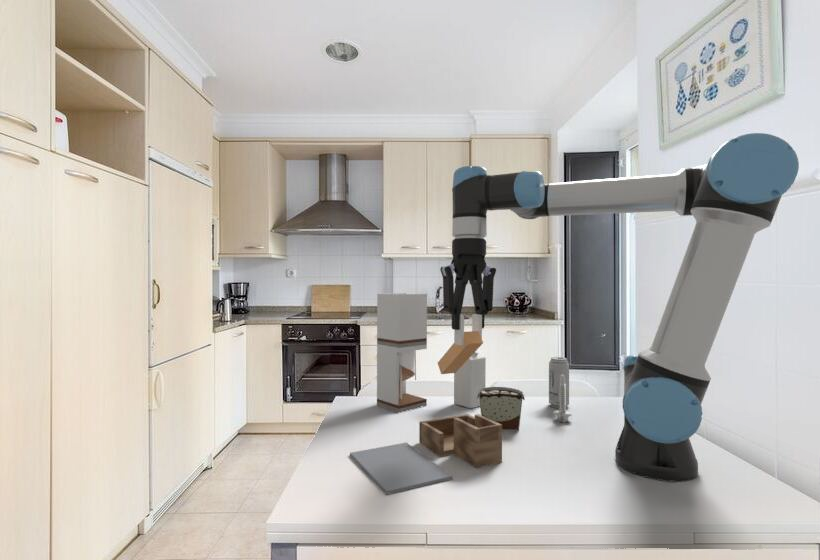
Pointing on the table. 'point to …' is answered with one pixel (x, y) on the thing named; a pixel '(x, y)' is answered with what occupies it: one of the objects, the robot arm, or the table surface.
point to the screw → (562, 402)
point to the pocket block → (464, 438)
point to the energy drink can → (558, 380)
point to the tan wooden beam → (460, 353)
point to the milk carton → (470, 380)
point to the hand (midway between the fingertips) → (468, 343)
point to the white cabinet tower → (399, 347)
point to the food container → (502, 406)
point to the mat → (399, 467)
